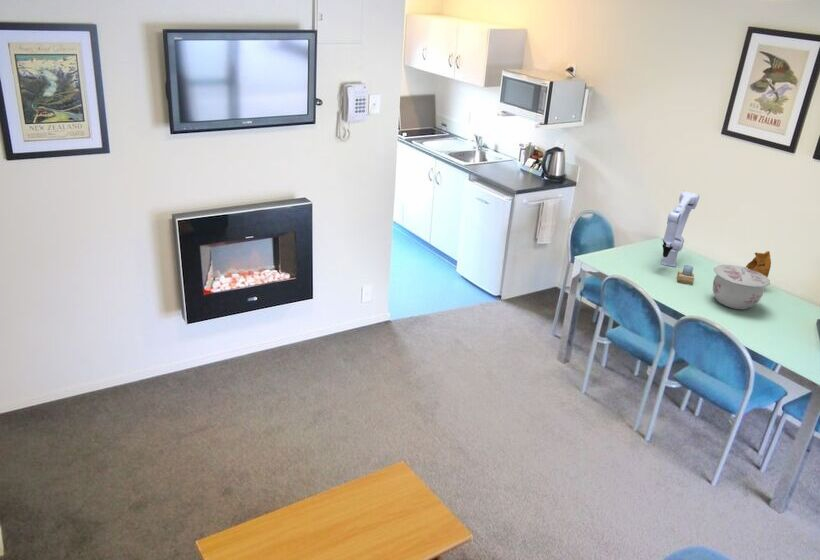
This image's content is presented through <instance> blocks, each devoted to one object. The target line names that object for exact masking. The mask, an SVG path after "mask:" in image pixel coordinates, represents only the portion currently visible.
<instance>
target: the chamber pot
mask: <svg viewBox="0 0 820 560" xmlns="http://www.w3.org/2000/svg"><path fill="white" fill-rule="evenodd" d="M713 271H714V273H715V276H714V277H713V282H712V292H713V295H714V297H715V300H716V301H717V302H718V303H720V304H722V305H723V306H725V307H728V308H730V309H735V310H749V309H750V308H753V307H754V306H755V305H756V304H758V303H759V302H760V301H761V299H762V297H763V295H764V292H765V287H767V286H770V285H771V281H770V279H769V277H766V276H765V275H763V274H761V273H759V272H757V271H755V270H752V269H749V268H748V267H746V266H745V267H744V266H740V265H735V264H734V265H732V264H720V265H717V266H715V267H714V268H713Z"/></svg>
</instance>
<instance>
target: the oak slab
mask: <svg viewBox="0 0 820 560" xmlns="http://www.w3.org/2000/svg"><path fill="white" fill-rule="evenodd" d="M682 272H683V270H678V271H677V275H678V279H679V280H684V281H689V282H693V283H694V282H695V275H694V274H695V273H694V272H692V275H691V276H686V275H683V274H682Z"/></svg>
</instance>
